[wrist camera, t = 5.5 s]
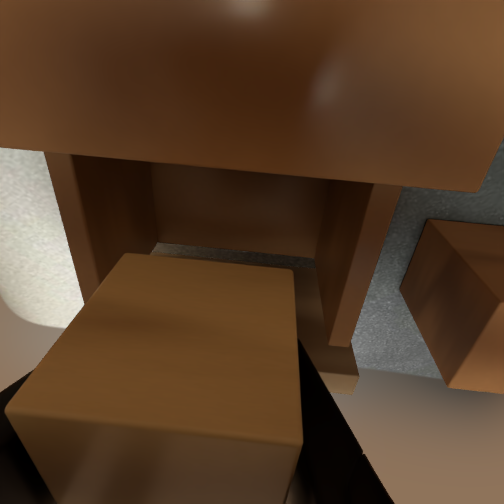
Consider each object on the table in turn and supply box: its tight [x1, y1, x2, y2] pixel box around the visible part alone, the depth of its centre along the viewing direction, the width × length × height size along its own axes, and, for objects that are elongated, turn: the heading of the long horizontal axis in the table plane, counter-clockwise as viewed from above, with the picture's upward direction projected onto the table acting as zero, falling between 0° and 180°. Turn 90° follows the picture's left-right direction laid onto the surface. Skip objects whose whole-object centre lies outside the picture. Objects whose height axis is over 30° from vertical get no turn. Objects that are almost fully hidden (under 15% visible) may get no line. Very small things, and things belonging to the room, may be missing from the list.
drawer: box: [44, 152, 403, 395], centre depth 14 cm, size 17×11×7 cm
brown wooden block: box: [400, 219, 504, 394], centre depth 16 cm, size 5×5×7 cm
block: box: [5, 253, 303, 504], centre depth 8 cm, size 4×4×4 cm
